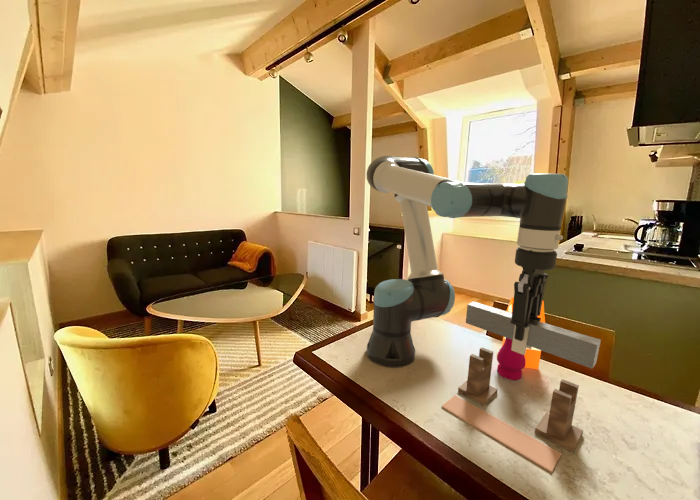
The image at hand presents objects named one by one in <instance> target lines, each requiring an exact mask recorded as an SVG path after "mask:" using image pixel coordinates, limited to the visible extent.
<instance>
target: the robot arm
mask: <svg viewBox="0 0 700 500" xmlns="http://www.w3.org/2000/svg"><path fill="white" fill-rule="evenodd" d="M366 180H367V182H368V184H369V186H370V187H371V188H372V189H373V190H375V191H377V192H381V193H384V194H387V193H392V194H394V200H395V201H396V202H397V203H399V205H400V210H401V217H402V223H403V230H404V235H405V243H406V248H407V249H406V250H407V255H408V262H409V267H410V274H409V275H408V277H407V278H406V279H403V278H398V279H396V278H395V279H394V278H393V279H387V280H383V281H381V282H379V283H378V284H377V285H376V286H375V289H374V292H373V293H374V295H373V314H372V315H373V318H372V319H373V320H372V325H373V326H372V331H371V334H370V337H369V339H368V342H367V345H366V355H367V357H368V359H369V360H370V361H372V362H373V363H375V364H377V365H379V366H383V367H387V368H402V367H406V366H408V365H410V364H412V363H413V362H414V360H416V359H415V358H416V348H415V346H414V343H413V337H412V335H411V333H412V332H411V329H412V323H413V322H417V321H423V320H427V319H431V318H439V317H441V316H444V315H447V314H449V313H450V312H451V310H452V309H453V308H454V305H455V302H456V301H455V300H456V294H455V289H454V286H453V285H452V284H451V282H450V281H449V280H447V279H445V276H444V273H443V272H441V270H440V269H438V264H437V258H436V253H435V252H436V251H435V246H434V245H435V244H434V240H433V233H432V229H431V223H430V216H429V215H430V214H429V209H428V207H429V208H432V210H433V211H434V212H435V214H436V215H437V216H439V217H441V218H442V217H443V218H449V219H457V218H473V217H475V218H476V217H505V218H506V217H507V218H516V219H519V226H518V233H517V240H516V245H518V247H517V248H516V249H515V257H514V263H515V264H516V265H517V266H518V267H521V268H522V271H521V273H520V274H519V277H518V281H515V282H514V283H513V286H514V287H513V288H514V293H513V298H514V301H513V310H512V319H511V321H510V322H511V324H514V325H515V327H514V334H513V341H512V348H511V350H512V351H515V352H517V353H520V354H522V355H525V353H526V348H529V349H531V348H532V347H531V346H528V345H527V340H528V333H529V326H528V322H529V318H530V319H533V320H537V321H540V320H541V318H539V317H537V316H539V315H540V314H541V313H540V312H541V307H542V301H544V295H545V291H546V284H547V281H548V278H549V273H545V271H551V270H554V269H555V268H556V264H557V257H558V252H557V251H556V250H557V249H559V243H560V241H562V240H563V239H564V236H563V235H561V229H562V223H563V219H564V218H563V217H564V214H565V213H564V212H565V207H566V202H567V199H568V187H569V177H568V176H567V175H565V174H563V173H530V174H528V175H527V176H526V178H525V181H524V183H499V182H497V183H494V182H467V181H461V180H457V179H453V178H448V177H444V176H439V175H436V174H435V172H434V168H433V166H432V164H431V163H430V162H429V161H428V160H426V159H424V158H420V157H416V156H410V157H407V156H393V155H382V156H379V157H377V158H375V159H373V160H372V161H371V162H370V164H369V165H368V167H367V169H366Z"/></svg>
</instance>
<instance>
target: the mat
mask: <svg viewBox="0 0 700 500" xmlns="http://www.w3.org/2000/svg"><path fill="white" fill-rule="evenodd" d="M441 408H442V409H444V410H446V411H447V412H449V413H450V414H452V415H454V416H456V417H457V418H458V419H460V420H462V421H464V422H466V423H467V424H469V425H470V426H472V427H473V428H476V430H478V431H480V432H483V434H486V435H487V436H488V437H490V438H492V439H494V440H496V441H497V442H499V443H500V444H502V445H504V446H505V447H507V448H509V450H512V451H513V452H515V453H518V454H519V455H520V456H522V457H524V458H525V459H527V460H529V461H530V462H532V463H534V464H535V465H537V466H539V467H540V468H542V469H544V470H545V471H547V472H549V473H550V474H552V473H553V471H554V469H555V467H556V465H557V464H558V462H559V460H560V458H561V455H562V453H561V452H559V451H557V450H555V449H554V448H552V447H550V446H548V445H546V444H544V442H541V441H539V440H538V439H535V438H534V437H532V436H530V435H528V434H526V433H525V432H523V431H522V430H520V429H517V428H515V427H514V426H512V425H510V424H508V423H507V422H504V421H503V420H502V419H499V418H498V417H496V416H494V415H493V414H491V413H488V412H487V411H485V410H483V409H481V408H479V407H477V406H476V405H473V404H472V403H470V402H468V401H466V400H465V399H463V398H461V397H459V396H457V395H453V396H452V397H451V398H449V400H447V401H446V402H444V403H443V404H442V405H441Z"/></svg>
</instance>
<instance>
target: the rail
mask: <svg viewBox="0 0 700 500" xmlns="http://www.w3.org/2000/svg"><path fill="white" fill-rule="evenodd" d="M511 319H512V313H510V312H507V311H506V310H503V309H500V308H497V307H493V306H490V305H486V304H483V303H480V302H476V301H471V302H470V303H467V305H466V316H465V324H467V325H470V326H472V327H476V328H479V329H481V330H484V331H487V332H490V333H492V334H495V335H498V336H501V337H502V338H503V337H506V338H509V339H511V340H513V334H514V327H515V325H514V324H511V322H510V321H511ZM528 326H529V333H528V340H527V345H528V346H531V347H533V348H536V349H539V350H541V352H544V353H548V354H551V355H553V356H556V357H559V358H561V359H564V360H567V361H569V362H572V363H575V364H578V365H581V366H583V367H587V368H588V369H593V368H594V367H595V366H596V364H597V360H598V356H599V351H600V346H601V342H602V339H600V338H596V337H593V336H589V335H586V334H582V333H579V332H576V331H574V330H570V329H565V328H563V327H560V326H557V325H552V324H550V323H547V322H545V323H543V322H540V321H537V320H533V319H530V318H529V322H528Z"/></svg>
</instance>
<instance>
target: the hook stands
mask: <svg viewBox="0 0 700 500" xmlns="http://www.w3.org/2000/svg"><path fill="white" fill-rule="evenodd" d="M469 355H470V356H469V361H468V369H467V370H468V371H467V380H465V382H463V383H462V384H461V385H459V386H458V388H457V389H458V390H457V392H458V393H460V394H462V395H463V396H466V397H468V398H469V399H471V400H473V401H475V402H477V403H479V404H481V406H482V405H483V406H484V407H485V406H486V405H488V403H489V402H491V400H492V399H493V398H494V397H495V396H497V395H498V390H499V389H498V388H496V387H493V386H491V374H492V368H493V367H492V366H493V357H494V351H492V350H490V349H487V348H485V347H480V348H479V353H478V355H476V354H474V353H471V354H469ZM579 387H580V385H579V384H576V383H574V382H571V381H569V380H565V379H563V378H562V379H561V380H560V382H559V389H557V388H554V389H553V390H552V394H551V395H552V396H551V402H550V408H549V413H547V412H545V413H544V414H543V416H542V418H541V419H540V421H539V422H538V423H537V425H536V426H535V428H534V433H535V434H537V435H538V436H540V437H543V438H544V439H546V440H548V441H550V442H552V443H553V444H555V445H557V446H559V447H561V448H562V449H565V450H566V451H569V452H570V453H572V454H574V453H575V451H576V449H577V447H578V444H579V443H580V440H581V438H582V436H583V434H584V433H583V432H584V430H583V429H581V428H579V427H578V426H575V425H573V421H574V420H573V419H574V413H575V408H576V404H577V397H578V392H579Z"/></svg>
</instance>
